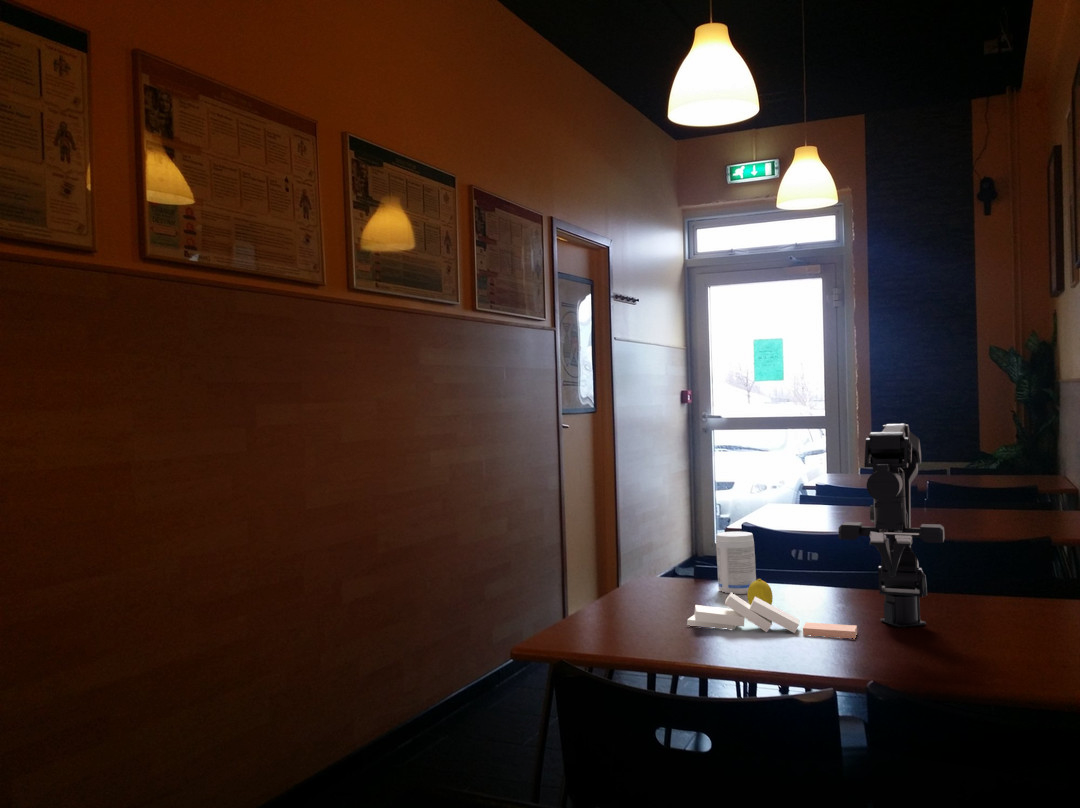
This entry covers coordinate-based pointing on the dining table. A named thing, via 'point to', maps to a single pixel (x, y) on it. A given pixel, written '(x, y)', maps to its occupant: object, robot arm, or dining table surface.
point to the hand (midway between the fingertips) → (892, 576)
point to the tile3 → (747, 612)
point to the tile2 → (774, 614)
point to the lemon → (759, 591)
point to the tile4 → (718, 615)
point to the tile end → (707, 623)
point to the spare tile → (830, 630)
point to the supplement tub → (735, 561)
